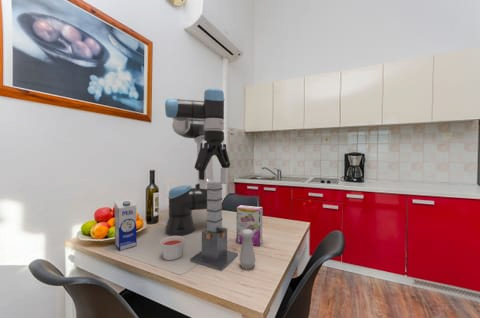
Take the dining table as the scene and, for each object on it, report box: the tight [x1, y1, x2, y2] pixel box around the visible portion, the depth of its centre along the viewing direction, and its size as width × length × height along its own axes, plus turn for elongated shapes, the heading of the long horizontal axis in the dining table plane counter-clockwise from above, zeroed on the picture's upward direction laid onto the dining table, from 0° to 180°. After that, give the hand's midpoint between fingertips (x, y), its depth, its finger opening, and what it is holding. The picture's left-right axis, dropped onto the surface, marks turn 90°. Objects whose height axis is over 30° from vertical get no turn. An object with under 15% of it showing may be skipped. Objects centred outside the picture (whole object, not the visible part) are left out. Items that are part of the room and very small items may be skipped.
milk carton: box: [114, 198, 138, 252], centre depth 89 cm, size 7×7×20 cm
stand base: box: [189, 226, 239, 272], centre depth 78 cm, size 14×12×12 cm
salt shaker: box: [239, 229, 256, 270], centre depth 73 cm, size 6×6×13 cm
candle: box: [159, 235, 185, 261], centre depth 80 cm, size 9×9×6 cm
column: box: [205, 181, 223, 234], centre depth 78 cm, size 4×4×22 cm
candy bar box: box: [236, 204, 263, 247], centre depth 92 cm, size 11×5×16 cm, turn 71°
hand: (214, 186), depth 78 cm, fingers open, 13 cm apart
